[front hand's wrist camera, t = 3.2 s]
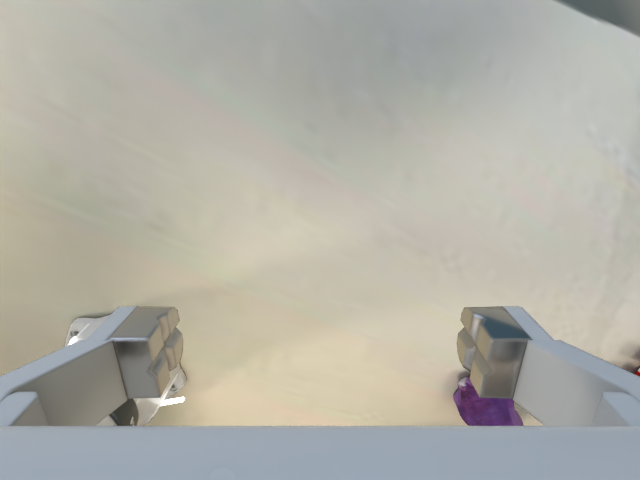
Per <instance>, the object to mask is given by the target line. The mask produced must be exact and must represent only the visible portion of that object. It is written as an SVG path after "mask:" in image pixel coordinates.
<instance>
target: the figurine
mask: <svg viewBox="0 0 640 480" xmlns="http://www.w3.org/2000/svg"><path fill="white" fill-rule="evenodd" d="M458 386H459V388H458V390H457V392H456V393H455V394H454V397H453V398H454V401H455V403H456V405H457V408H458V411H459V413H460V416H461V417H462V419H463V420H464V421H465V423H466V424H467V425H469V426H523V422H522V419H521V418H520V416H519V414H518V413H517V412H516V410H515V409H514V401H513V399H508V398H480V397H479V395H478V394H477V392H476V390H475V388H474V386H473V384H472V383H471V381H470V377H464V378H462V379H461V380H460V381H459V382H458Z"/></svg>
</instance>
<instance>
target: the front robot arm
mask: <svg viewBox="0 0 640 480" xmlns="http://www.w3.org/2000/svg"><path fill="white" fill-rule="evenodd" d="M178 322H179V315H178V310H177V309H176V308H175V307H155V306H122V307H118V308H117V309H116V310H115V311H114V312H113V313H112V314H111V315H108V316H104V317H101V318H77V319H75V320H74V322H73V323H72V324H71V326H70V329H69V332H68V335H67V339H66V342H65V345H64V348H62V349H60V350H57V351H55V352H53V353H51V354H49V355H46V356H44V357H42V358H40V359H38V360H35V361H33V362H31V363H29V364H27V365H24V366H22V367H20V368H18V369H16V370H13V371H11V372H9V373H7V374H5V375H2V376H0V480H640V376H637V375H635V374H633V373H631V372H629V371H626V370H624V369H622V368H620V367H618V366H615V365H613V364H611V363H609V362H607V361H605V360H602V359H600V358H598V357H596V356H594V355H591V354H589V353H587V352H585V351H583V350H580V349H578V348H576V347H574V346H572V345H569V344H567V343H565V342H563V341H561V340H554V339H553V338H552V337H551V336H550V335H549V334H548V333H547V332H546V331H545V330H544V329H543V328H542V327H541V326H540V325H539V324H538V323H537V322H536V321H535V320H534V319H533V318H532V317H531V316H530V315H529V314H528V313H527V312H526V311H525V310H524V309H523V308H522V307H519V306H500V307H465V308H464V309H463V311H462V314H461V322H462V324H463V325H464V328H463V329H462V330H461V331H460V332H459V333H458V338H457V351H458V356H459V359H460V362H461V364H462V366H463V367H464V368H465V369H467V370H468V371H470V372H471V373H470V381H471V383H472V384H473V386H474V388H475V390H476V392H477V394H478V395H479V397H480V398H508V399H513V401H514V402H516V403H517V404H518V405H519V406H521V407H522V408H523V409H524V410H526V411H527V412H528V413H529V414H531V415H532V416H533V417H534V418H536V419H537V420H538V421H539V422H541V423H542V424H543V425H544V426H144V425H145V424H148V423H149V422H150V420H151V419H152V418H153V417H154V415H155V414H156V412H157V411H158V409H159V407H160V406H162V405H168V404H174V403H179V402H183V401H184V399H185V398H184V397H180V398H174V399H169V400H166V399H168V398H169V397H170V396H172V395H173V394H174V393H176V392H177V391H178V390H180V389H181V388H182V387H183V386H184V385H185V383H186V381H187V379H186V376H185V374H184V372H183V370H182V369H181V367H180V363H179V362H180V360H181V356H182V351H183V337H182V333H181V332H180V331H179V330H178V329H177V328H176V325H177V324H178Z"/></svg>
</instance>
